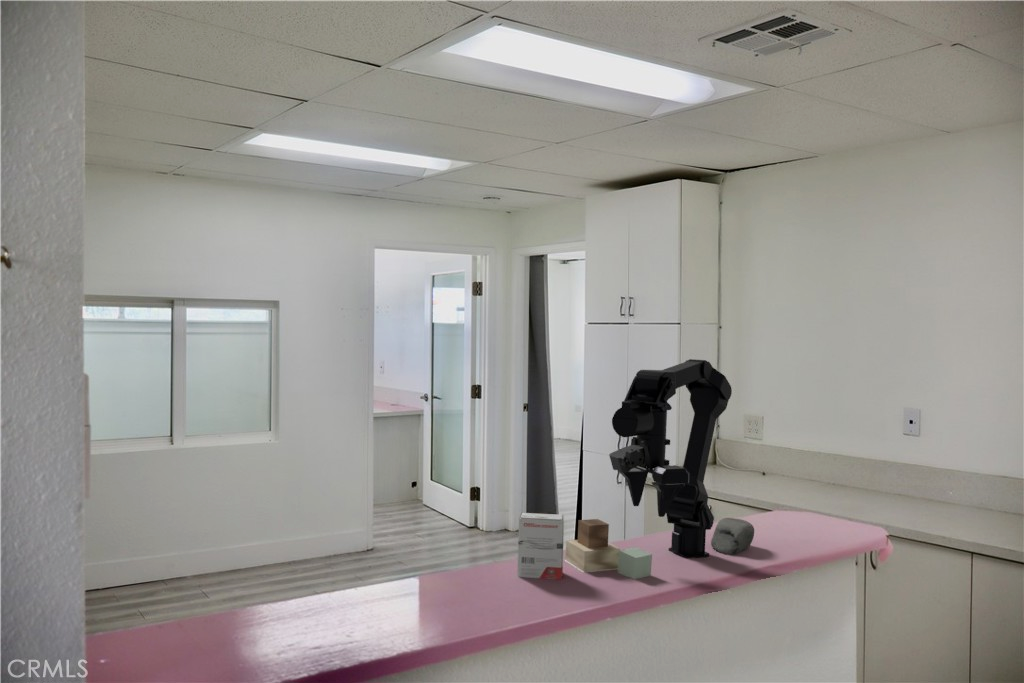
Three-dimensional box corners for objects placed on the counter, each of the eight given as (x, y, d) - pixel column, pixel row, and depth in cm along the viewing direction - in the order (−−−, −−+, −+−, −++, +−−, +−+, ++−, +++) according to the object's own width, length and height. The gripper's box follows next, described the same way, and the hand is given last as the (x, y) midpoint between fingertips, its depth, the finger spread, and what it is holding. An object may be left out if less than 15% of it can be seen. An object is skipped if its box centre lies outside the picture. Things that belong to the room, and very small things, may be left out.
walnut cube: (596, 540, 161) (597, 518, 161) (607, 546, 157) (608, 524, 157) (577, 542, 159) (578, 520, 159) (588, 548, 155) (589, 525, 155)
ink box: (562, 573, 152) (565, 513, 152) (561, 581, 147) (564, 519, 147) (518, 570, 153) (521, 511, 153) (516, 578, 148) (518, 516, 148)
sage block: (633, 569, 156) (635, 547, 156) (650, 576, 152) (652, 554, 152) (617, 572, 153) (619, 550, 153) (634, 580, 150) (636, 557, 149)
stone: (698, 546, 175) (713, 505, 178) (719, 559, 180) (734, 519, 183) (731, 557, 168) (746, 514, 171) (752, 570, 173) (767, 528, 176)
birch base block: (599, 556, 163) (600, 537, 163) (619, 568, 156) (620, 548, 156) (565, 559, 160) (566, 540, 160) (583, 571, 153) (584, 551, 153)
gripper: (593, 427, 161) (590, 503, 161) (642, 441, 144) (638, 525, 144) (639, 427, 165) (636, 500, 166) (692, 439, 148) (689, 521, 148)
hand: (648, 511), depth 156 cm, fingers open, 9 cm apart
